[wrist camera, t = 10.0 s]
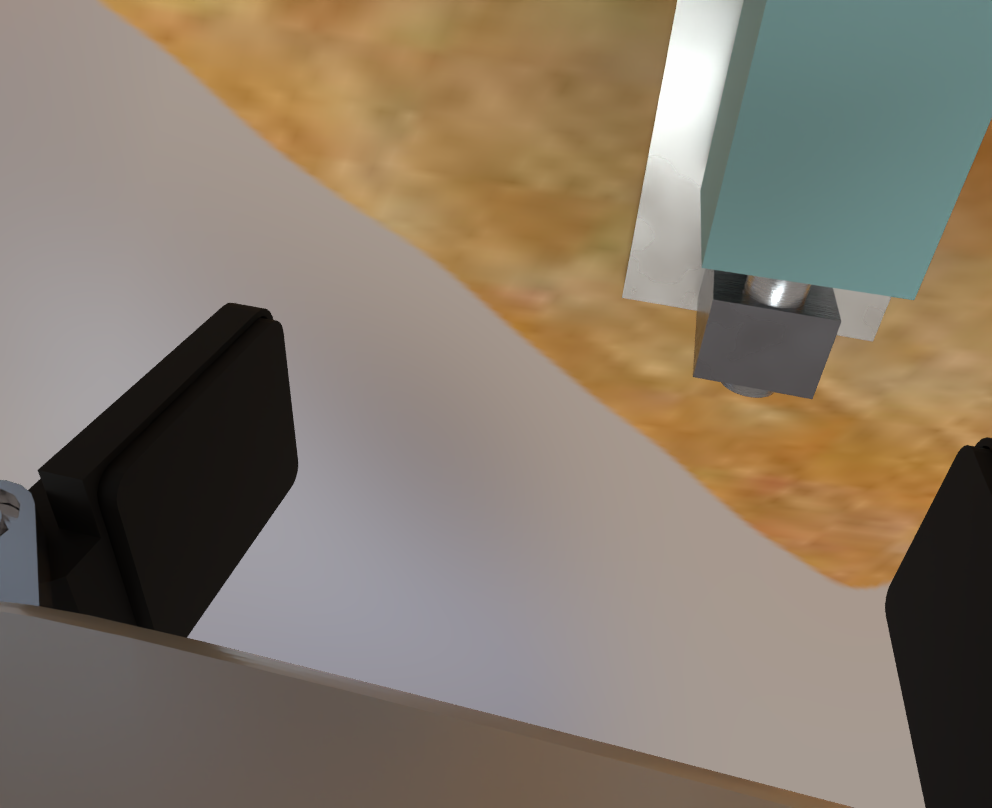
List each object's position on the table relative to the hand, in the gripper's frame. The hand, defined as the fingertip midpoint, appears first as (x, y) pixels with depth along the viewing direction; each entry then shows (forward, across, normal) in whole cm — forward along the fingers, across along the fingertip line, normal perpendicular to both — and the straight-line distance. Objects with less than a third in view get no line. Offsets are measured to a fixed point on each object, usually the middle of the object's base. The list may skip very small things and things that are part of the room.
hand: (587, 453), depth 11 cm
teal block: (+19, -4, -2) cm, 20 cm away
